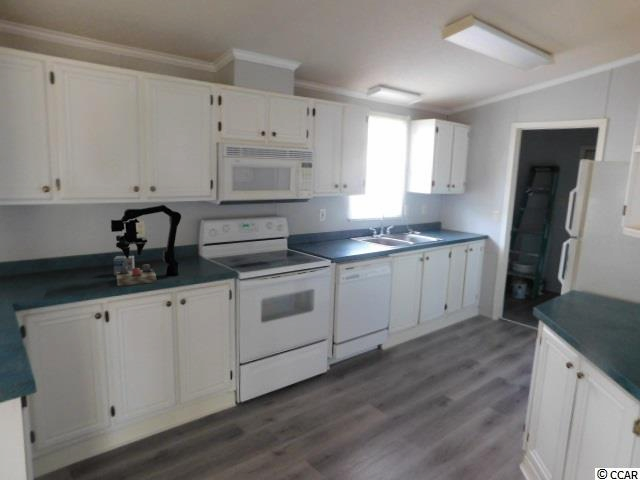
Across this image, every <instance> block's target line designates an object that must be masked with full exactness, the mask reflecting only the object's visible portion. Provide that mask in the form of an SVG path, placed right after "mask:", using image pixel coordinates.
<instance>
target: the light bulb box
mask: <svg viewBox="0 0 640 480" xmlns="http://www.w3.org/2000/svg"><path fill="white" fill-rule="evenodd" d="M121 266H128V271H132V269H133V268H136V267H135V255H129V258H128V259H127V258H126V256H125V255H116V256H115V257H114V258H113V271H114V273H113V275H114V276H116V272H120V267H121Z"/></svg>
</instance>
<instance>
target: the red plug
mask: <svg viewBox="0 0 640 480" xmlns="http://www.w3.org/2000/svg"><path fill="white" fill-rule="evenodd" d="M140 270H141V268H140V267H135V268H133V269H132V271H133V277H137V276H140Z"/></svg>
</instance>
